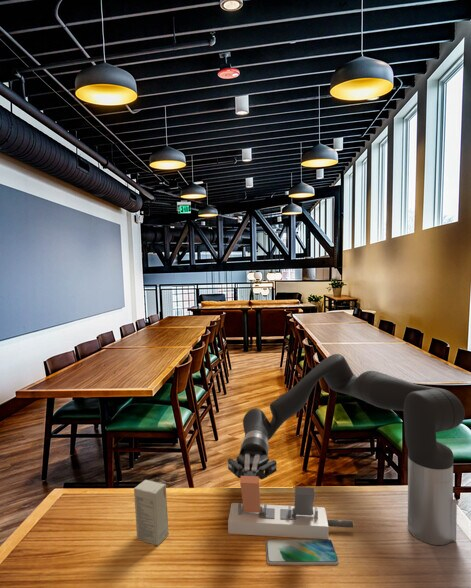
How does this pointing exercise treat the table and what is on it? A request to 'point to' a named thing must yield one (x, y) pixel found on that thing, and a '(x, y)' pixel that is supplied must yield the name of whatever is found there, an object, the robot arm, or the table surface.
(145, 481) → the skincare box
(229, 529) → the power strip
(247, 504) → the bar
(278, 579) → the table surface
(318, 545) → the smartphone
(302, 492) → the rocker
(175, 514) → the table surface
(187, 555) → the table surface
